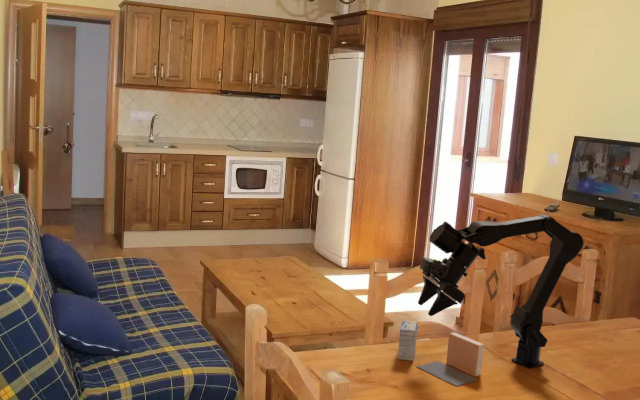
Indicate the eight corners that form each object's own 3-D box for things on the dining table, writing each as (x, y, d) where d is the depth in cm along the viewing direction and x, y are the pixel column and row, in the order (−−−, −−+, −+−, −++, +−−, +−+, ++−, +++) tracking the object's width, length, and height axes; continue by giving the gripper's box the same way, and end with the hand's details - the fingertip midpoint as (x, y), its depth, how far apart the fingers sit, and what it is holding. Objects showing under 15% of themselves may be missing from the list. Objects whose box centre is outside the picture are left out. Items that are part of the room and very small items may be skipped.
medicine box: (413, 361, 186) (416, 331, 185) (397, 359, 187) (399, 329, 186) (415, 351, 194) (418, 322, 193) (399, 349, 195) (402, 320, 194)
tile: (451, 361, 188) (454, 332, 187) (480, 375, 180) (483, 344, 179) (446, 363, 187) (449, 333, 186) (474, 376, 179) (478, 345, 178)
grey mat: (437, 361, 188) (437, 360, 188) (477, 380, 177) (477, 379, 177) (416, 367, 183) (416, 366, 183) (456, 386, 172) (456, 385, 172)
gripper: (425, 238, 191) (392, 283, 191) (447, 254, 172) (410, 304, 173) (455, 260, 193) (422, 305, 194) (480, 278, 175) (444, 327, 175)
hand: (424, 309), depth 184 cm, fingers open, 9 cm apart
